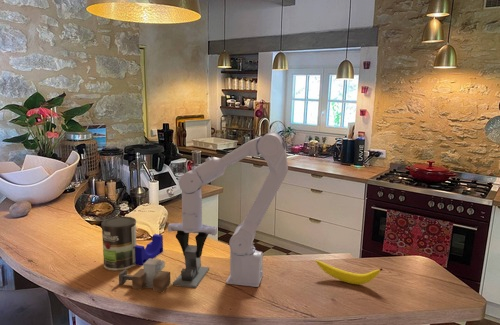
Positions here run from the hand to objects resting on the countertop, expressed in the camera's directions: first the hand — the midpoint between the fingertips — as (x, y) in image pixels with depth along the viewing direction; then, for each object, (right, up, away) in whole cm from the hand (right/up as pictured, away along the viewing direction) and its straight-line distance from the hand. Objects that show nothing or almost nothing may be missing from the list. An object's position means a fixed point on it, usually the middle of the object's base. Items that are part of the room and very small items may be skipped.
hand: (192, 255), depth 108 cm
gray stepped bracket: (0, -5, 0) cm, 5 cm away
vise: (-13, -7, -5) cm, 16 cm away
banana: (+45, -7, -2) cm, 46 cm away
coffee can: (-24, -5, +8) cm, 26 cm away
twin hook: (-11, -6, 0) cm, 13 cm away
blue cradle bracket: (-17, -4, +13) cm, 22 cm away
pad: (0, -6, 0) cm, 6 cm away
